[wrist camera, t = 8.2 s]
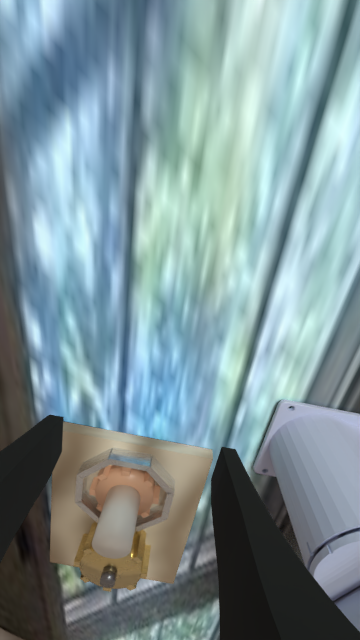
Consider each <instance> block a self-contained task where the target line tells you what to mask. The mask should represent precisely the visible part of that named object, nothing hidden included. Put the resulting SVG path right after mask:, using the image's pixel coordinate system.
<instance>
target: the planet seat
mask: <svg viewBox="0 0 360 640" xmlns="http://www.w3.org/2000/svg"><path fill="white" fill-rule="evenodd" d="M151 455H152V454H146V453H141V452H136V451H130V450H125V449H120V448H114V447H113V448H110V449H108V450H106V451H104V452H102V453H100V454H98V455H96V456H94V457H92V458H91V459H89V460H87V461H85V462H83V463H82V465H81V467H80V469H79V471H78V474H77V477H76V491H75V502H76V504H77V505H78V506H79V507H80V508H81V509H82V510H83V511H84V512H86V513H87V514H88V515H89V516H90V517H91V518H92V519H93V520H94V521H95V522H97V523H98V521H99V518H100V515H101V511H99V510H98V509H97V505H98V502H97V500H96V498H95V497H94V496H93V495H89V491H88V490H87V489H86V488H87V477H88V475H90V474H92V473H94V472H96V471H98V470H100V469H102V468H104V467H106V466H108V465H116V466H121V467H127V468H132V469H137V470H143V471H147V472H148V473H149V474H150V476H151V477H152V478H153V479H154V480H155V481H156V482H157V483H158V484H159V485H160V486H161V487H162V488H163V489H164V491H165V492H166V493H165V497H164V501H163V504H160V505H158V506H156V507H153V508H151V509H150V514H149V516H147V517H145V518H143V517H142V516H141V515H138V516H137V521H136V526H135V531H134V532H136V531H137V532H138V531H141V530H143V529H145V528H148V527H150V526H153V525H155V524H158V523H160V522H162V521H165V520H167V519H168V516H169V512H170V508H171V504H172V500H173V497H174V491H175V479H174V478H173V477H172V476H171V475H170V474H169V472H168V471H167V470H166V469H165V468H164V467H163V466H162V465H161V464H160V462H159V461H158V460H157V459H156V458H155V457H154V456H153V455H152V456H151Z"/></svg>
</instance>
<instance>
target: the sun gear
mask: <svg viewBox="0 0 360 640" xmlns="http://www.w3.org/2000/svg"><path fill="white" fill-rule="evenodd" d="M97 524H98V523H97V522H94V523H92V525H91V528H90V531H89V534H83V537H82V540H81V543H80V545H79V548H78V551H77V554H76V557H75V560H74V566H75V567H79V568H80V571H81V573H82V574H81V578H80V579H81V580H83V581H84V582H85V583H86V582H89V581H90V582H92V583H94V584H96V585H99V586H102V587H103V590H105V591H110V592H111V588H114V589H119V588H127V589H128V590H132V589H135V588H136V584H137V582H138V581H139V579H140V578H143V579H146V577H147V572H148V565H149V557H150V549H151V545H146V543H145V539H146V532H145V531H144V530H141V531H138V532H137V531H136V532H134V537H133V542H132V547H131V551H130V553H129V554H128V555H127V556H125V557H123V558H118V559H111V558H106V557H103V556H101V555H99V554H98V553H97V552H95V550H94V549H93V547H92V540H93V537H94V534H95V530H96V527H97Z"/></svg>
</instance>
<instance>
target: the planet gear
mask: <svg viewBox="0 0 360 640" xmlns="http://www.w3.org/2000/svg"><path fill="white" fill-rule="evenodd" d="M159 494H160V486H156V485H155V483H154V479H153V478H152V477H151V476H150V474H149V473H148V472H147V471H143V470H137V469H132V468H127V467H121V466H116V465H112V466H111V465H108V466H106V467H104V468H102V469H100V471H99V474H98V476H97V477H94V479H93V481H92V484H91V487H90V489H89V495H94V496H95V497H96V500H97V502H98V505H97V509H98V510H99V511H101V515H100V518H99V521H98V524H97V527H96V530H95V534H94V537H93V540H92V547H93V549H94V550H95V552H97V553H98V554H99V555H101V556H103V557H106V558H111V559H118V558H123V557H125V556H127V555H128V554H129V553H130V551H131V547H132V542H133V537H134V531H135V526H136V521H137V516H138V515H141V516H142V517H143V518H145V517H147V516H149V514H150V508H151V505H152V504H158V502H159Z"/></svg>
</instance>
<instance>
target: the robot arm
mask: <svg viewBox="0 0 360 640" xmlns="http://www.w3.org/2000/svg"><path fill="white" fill-rule="evenodd" d="M290 406H293V407H292V408H289V407H290ZM62 439H63V417H60V416H54V415H49V416H47V417H46V418H44V419H43V420H42V421H40V422H39V423H38V424H37V425H35V426H34V427H33V428H31V429H30V430H29V431H28V432H26V433H25V434H24V435H22V436H21V437H20V438H18V439H17V440H15V441H14V442H13V443H11V444H10V445H9V446H7V447H6V448H4V449H3V450H2V451H0V562H1V560H2V558H3V557H4V555H5V553H6V551H7V549H8V547H9V545H10V543H11V541H12V539H13V538H14V536H15V534H16V532H17V531H18V529H19V527H20V526H21V524H22V522H23V521H24V519H25V517H26V516H27V514H28V513H29V511H30V509H31V508H32V506H33V504H34V503H35V501H36V499H37V498H38V496H39V494H40V493H41V491H42V489H43V488H44V486H45V484H46V483H47V481H48V479H49V478H50V476H51V474H52V472H53V470H54V468H55V466H56V464H57V461H58V459H59V457H60V455H61V453H62ZM253 468H254V471H255V472H256V473H258V474H263V475H268V476H274V477H277V480H278V484H279V487H280V490H281V493H282V496H283V499H284V502H285V505H286V508H287V511H288V514H289V517H290V521H291V524H292V527H293V530H294V533H295V536H296V539H297V542H298V545H299V548H300V551H301V554H302V558H303V561H304V564H305V566H304V565H303V563H302V562H301V560H300V559H299V558H298V556H297V555H296V553H295V552H294V551H293V549H292V548H291V546H290V545H289V543H288V542H287V541H286V539H285V538H284V536H283V535H282V533H281V532H280V530H279V528H278V527H277V525H276V524H275V522H274V520H273V519H272V517H271V516H270V514H269V512H268V511H267V509H266V507H265V505H264V504H263V502H262V500H261V498H260V497H259V495H258V493H257V491H256V489H255V487H254V486H253V484H252V482H251V480H250V478H249V476H248V474H247V472H246V470H245V468H244V466H243V464H242V462H241V460H240V458H239V456H238V453H237V451H236V450H235V449H231V448H225V447H222V448H221V451H220V454H219V457H218V460H217V463H216V466H215V469H214V472H213V475H212V479H211V506H212V517H213V527H214V536H215V546H216V556H217V565H218V578H219V607H220V640H360V414H357V413H352V412H347V411H342V410H337V409H331V408H326V407H321V406H316V405H311V404H306V403H300V402H295V401H290V400H281V401H280V402H279V403H278V405H277V408H276V410H275V413H274V415H273V418H272V420H271V423H270V425H269V428H268V430H267V433H266V436H265V438H264V441H263V443H262V446H261V448H260V451H259V453H258V456H257V458H256V461H255V463H254V466H253Z"/></svg>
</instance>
